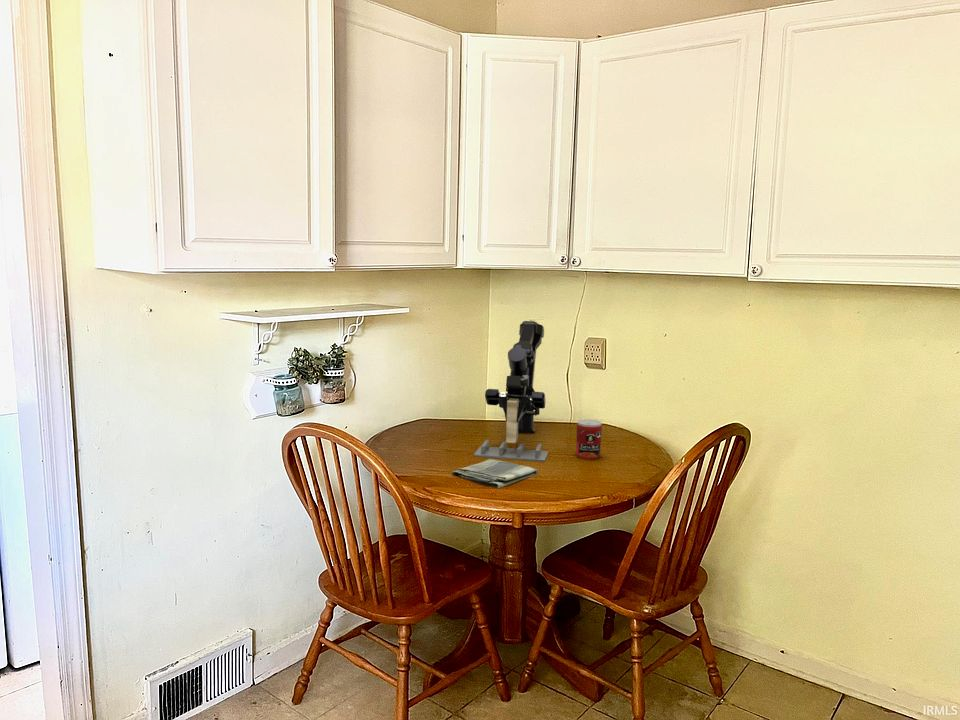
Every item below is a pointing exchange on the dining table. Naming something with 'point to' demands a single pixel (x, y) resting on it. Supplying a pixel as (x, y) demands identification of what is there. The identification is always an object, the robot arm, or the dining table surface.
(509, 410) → the birch block
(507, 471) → the dish towel
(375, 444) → the dining table surface
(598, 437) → the canned food
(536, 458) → the slotted rack
